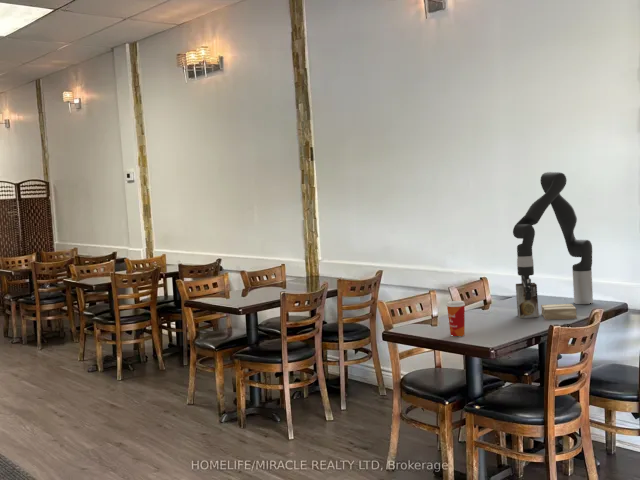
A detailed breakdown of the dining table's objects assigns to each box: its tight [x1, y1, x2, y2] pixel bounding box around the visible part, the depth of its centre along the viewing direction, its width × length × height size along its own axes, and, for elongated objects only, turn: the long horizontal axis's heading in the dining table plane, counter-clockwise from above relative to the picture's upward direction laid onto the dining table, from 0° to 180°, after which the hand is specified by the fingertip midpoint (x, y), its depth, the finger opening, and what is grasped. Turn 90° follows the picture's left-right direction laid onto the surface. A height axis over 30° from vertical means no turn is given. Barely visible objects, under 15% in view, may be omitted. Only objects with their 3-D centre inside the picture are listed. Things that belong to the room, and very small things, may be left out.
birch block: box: [540, 303, 577, 320], centre depth 319 cm, size 13×14×5 cm
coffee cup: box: [446, 300, 466, 337], centre depth 293 cm, size 8×8×15 cm
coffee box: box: [515, 282, 540, 319], centre depth 322 cm, size 9×6×16 cm
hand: (526, 298), depth 322 cm, fingers open, 8 cm apart
